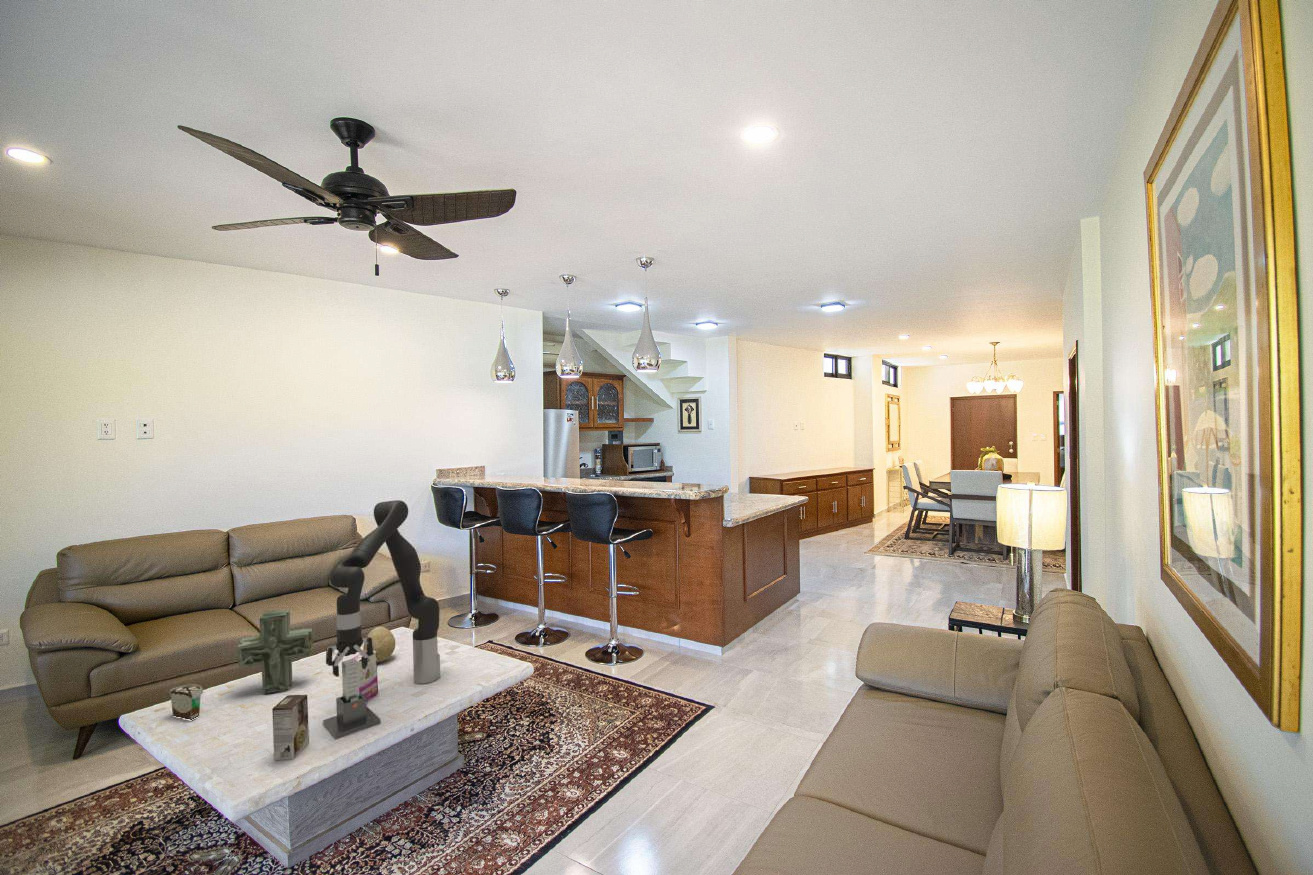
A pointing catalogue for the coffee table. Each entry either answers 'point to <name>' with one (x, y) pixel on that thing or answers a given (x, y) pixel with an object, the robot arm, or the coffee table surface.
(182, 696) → the food container
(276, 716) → the coffee box
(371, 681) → the candy bar box
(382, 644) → the fossilized egg
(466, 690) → the coffee table surface
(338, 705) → the jack stand base
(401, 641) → the coffee table surface
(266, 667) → the religious sculpture
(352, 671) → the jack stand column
